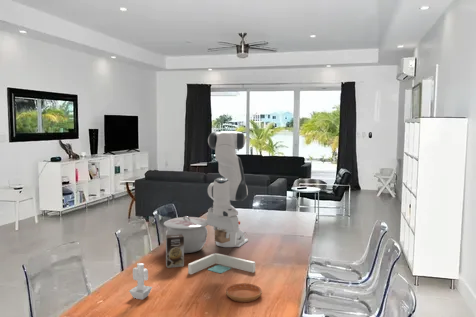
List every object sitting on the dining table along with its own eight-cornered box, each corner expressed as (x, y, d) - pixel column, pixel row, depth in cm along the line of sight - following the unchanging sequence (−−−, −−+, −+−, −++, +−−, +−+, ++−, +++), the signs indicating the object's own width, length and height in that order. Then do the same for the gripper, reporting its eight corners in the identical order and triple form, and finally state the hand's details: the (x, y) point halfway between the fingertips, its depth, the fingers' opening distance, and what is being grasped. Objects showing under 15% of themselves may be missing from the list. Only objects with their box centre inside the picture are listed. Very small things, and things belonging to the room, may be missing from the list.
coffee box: (167, 268, 218) (166, 238, 217) (165, 264, 224) (165, 234, 223) (184, 266, 221) (184, 236, 219) (182, 262, 227) (182, 233, 225)
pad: (217, 265, 223) (217, 264, 223) (231, 268, 218) (231, 267, 218) (207, 269, 215) (207, 269, 215) (221, 273, 210) (221, 273, 210)
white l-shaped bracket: (215, 261, 228) (215, 252, 228) (255, 271, 213) (255, 262, 213) (188, 273, 210) (188, 263, 210) (229, 285, 195) (229, 274, 195)
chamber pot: (202, 258, 233) (202, 222, 231) (156, 255, 238) (155, 220, 237) (215, 244, 260) (215, 211, 258) (173, 241, 266) (173, 209, 264)
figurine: (153, 293, 186) (153, 261, 184) (142, 302, 177) (141, 268, 175) (139, 291, 188) (139, 259, 187) (127, 300, 179) (126, 266, 178)
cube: (214, 241, 213) (214, 230, 212) (222, 238, 217) (222, 228, 216) (222, 243, 209) (221, 232, 209) (229, 240, 213) (229, 230, 212)
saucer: (241, 286, 195) (241, 280, 195) (269, 295, 185) (269, 288, 185) (218, 297, 183) (218, 290, 182) (246, 307, 172) (246, 300, 172)
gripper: (203, 207, 216) (204, 233, 218) (231, 214, 202) (231, 242, 204) (212, 205, 221) (213, 231, 222) (240, 212, 206) (240, 239, 208)
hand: (222, 236), depth 213 cm, fingers closed on cube, 5 cm apart
